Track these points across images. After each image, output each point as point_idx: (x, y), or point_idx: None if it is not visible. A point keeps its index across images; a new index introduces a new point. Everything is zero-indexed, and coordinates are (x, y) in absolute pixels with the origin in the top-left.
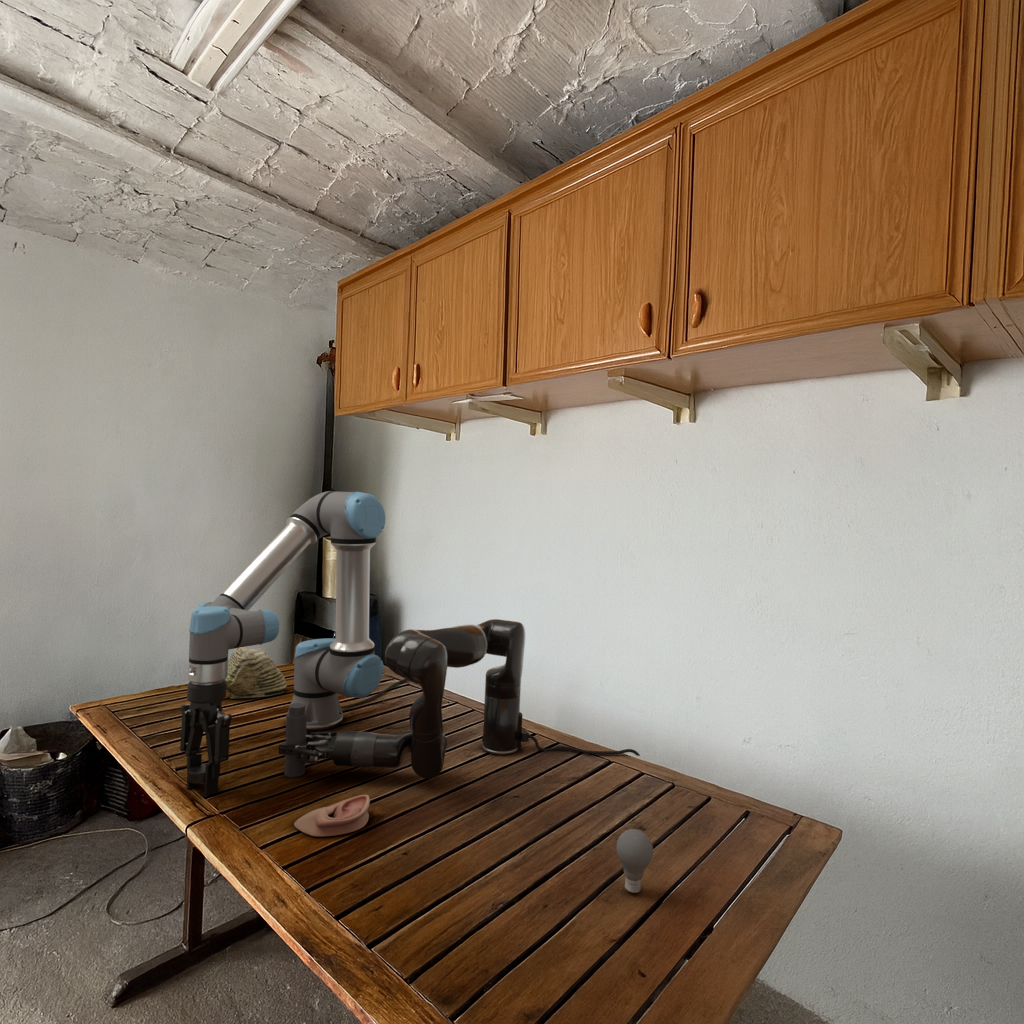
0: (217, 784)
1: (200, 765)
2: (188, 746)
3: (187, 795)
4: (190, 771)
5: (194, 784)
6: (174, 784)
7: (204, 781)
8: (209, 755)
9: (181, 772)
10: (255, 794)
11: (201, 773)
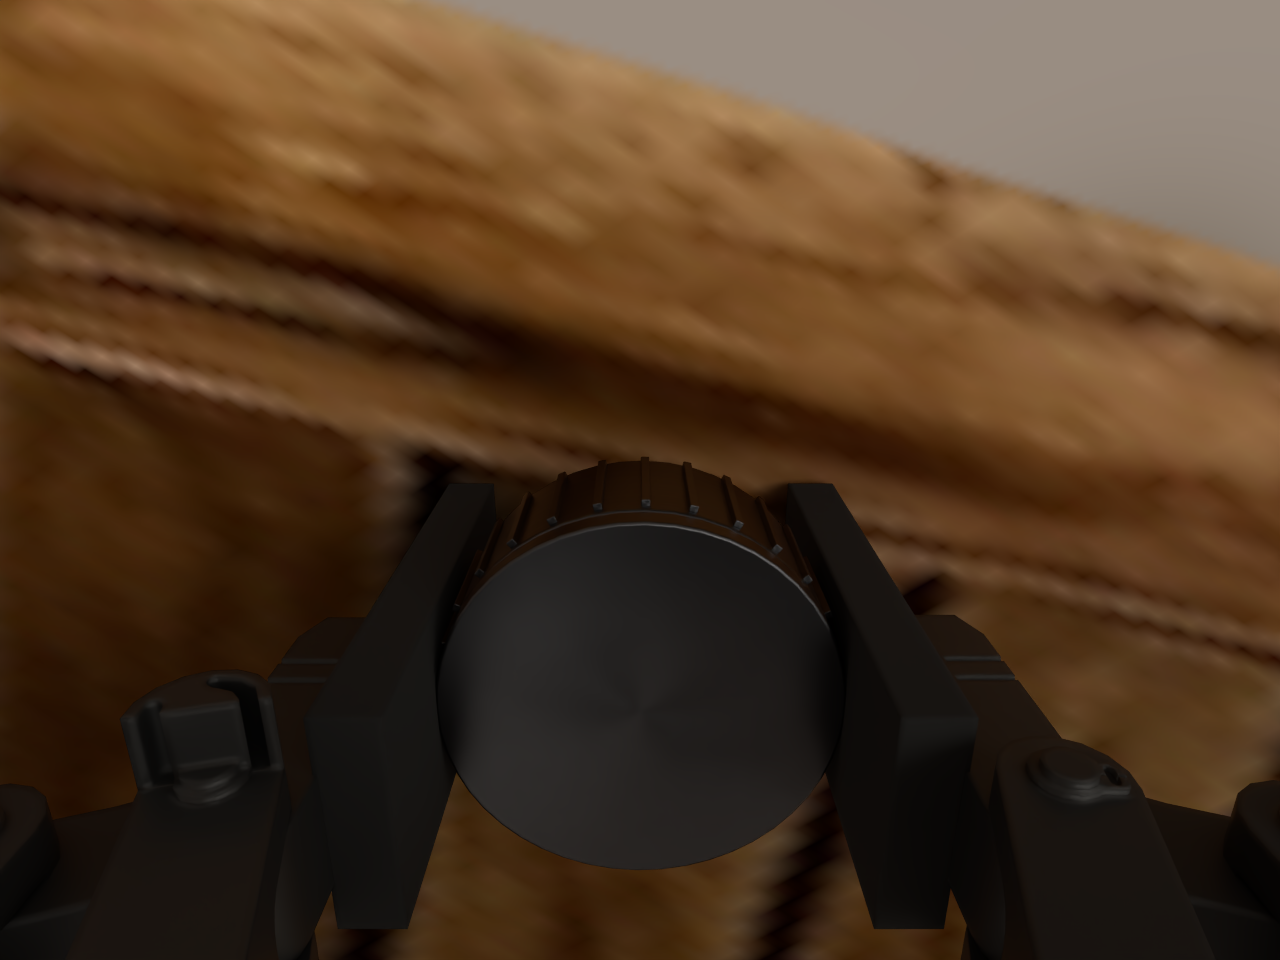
0: None
1: (764, 747)
2: (1128, 932)
3: (667, 381)
4: (699, 530)
5: None
6: (1058, 473)
7: (476, 559)
8: (193, 896)
9: (1237, 693)
10: (98, 777)
11: (477, 584)
